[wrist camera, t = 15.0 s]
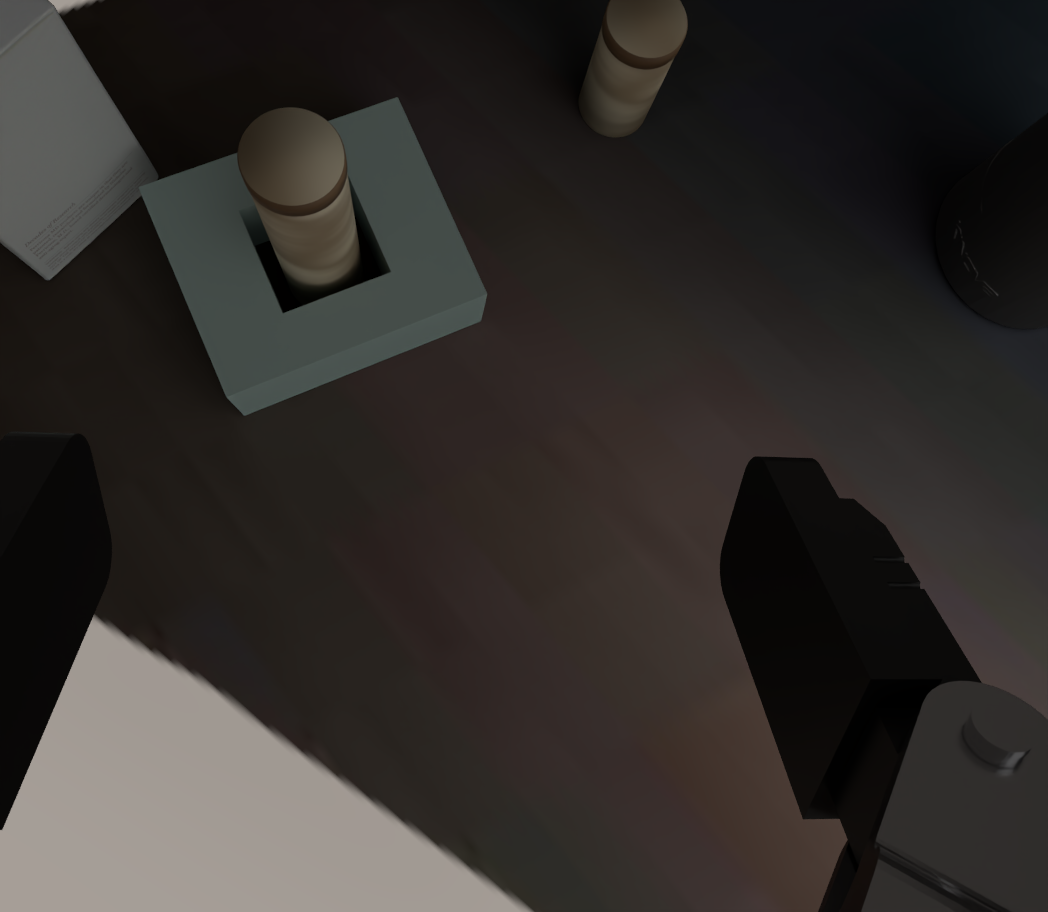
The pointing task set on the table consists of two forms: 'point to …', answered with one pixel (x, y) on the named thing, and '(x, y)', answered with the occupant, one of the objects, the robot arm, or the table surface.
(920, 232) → the table surface
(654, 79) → the short pin
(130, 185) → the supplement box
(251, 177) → the tall pin
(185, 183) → the socket block
